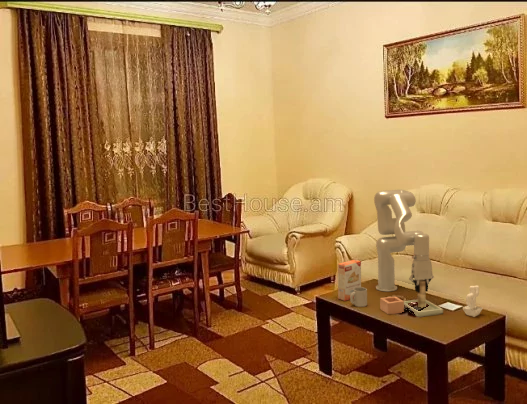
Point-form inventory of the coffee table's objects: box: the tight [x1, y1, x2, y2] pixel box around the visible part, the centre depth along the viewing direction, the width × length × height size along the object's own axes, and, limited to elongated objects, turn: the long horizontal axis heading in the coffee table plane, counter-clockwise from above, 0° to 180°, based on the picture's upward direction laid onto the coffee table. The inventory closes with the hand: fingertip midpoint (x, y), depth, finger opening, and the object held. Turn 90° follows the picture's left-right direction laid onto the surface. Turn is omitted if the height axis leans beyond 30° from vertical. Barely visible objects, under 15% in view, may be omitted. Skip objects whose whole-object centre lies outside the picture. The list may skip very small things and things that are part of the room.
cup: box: [349, 286, 368, 308], centre depth 281 cm, size 7×10×9 cm
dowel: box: [417, 280, 427, 308], centre depth 269 cm, size 4×4×14 cm
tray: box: [403, 299, 444, 318], centre depth 270 cm, size 18×14×2 cm
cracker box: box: [337, 259, 362, 302], centre depth 294 cm, size 14×6×21 cm, turn 129°
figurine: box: [462, 285, 483, 318], centre depth 259 cm, size 7×9×15 cm
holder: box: [379, 296, 405, 315], centre depth 270 cm, size 9×9×6 cm
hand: (421, 290), depth 269 cm, fingers closed on dowel, 4 cm apart
